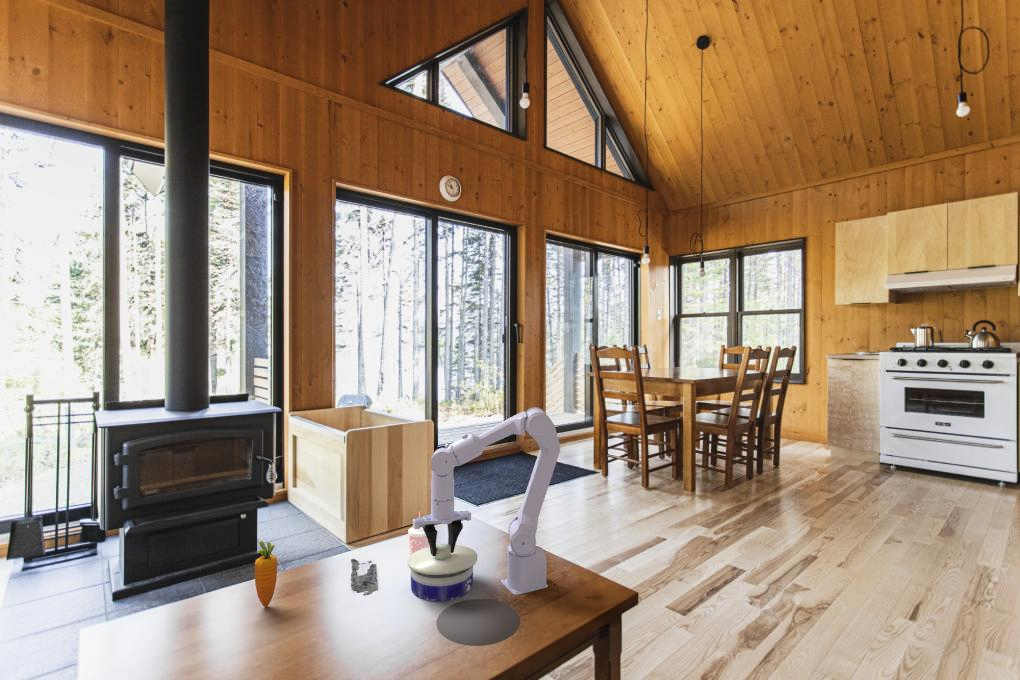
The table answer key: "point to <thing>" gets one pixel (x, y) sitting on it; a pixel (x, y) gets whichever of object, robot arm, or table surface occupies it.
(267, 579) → the carrot
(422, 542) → the beverage cup
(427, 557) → the lid
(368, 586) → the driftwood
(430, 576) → the dog bowl
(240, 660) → the table surface
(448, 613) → the mat
